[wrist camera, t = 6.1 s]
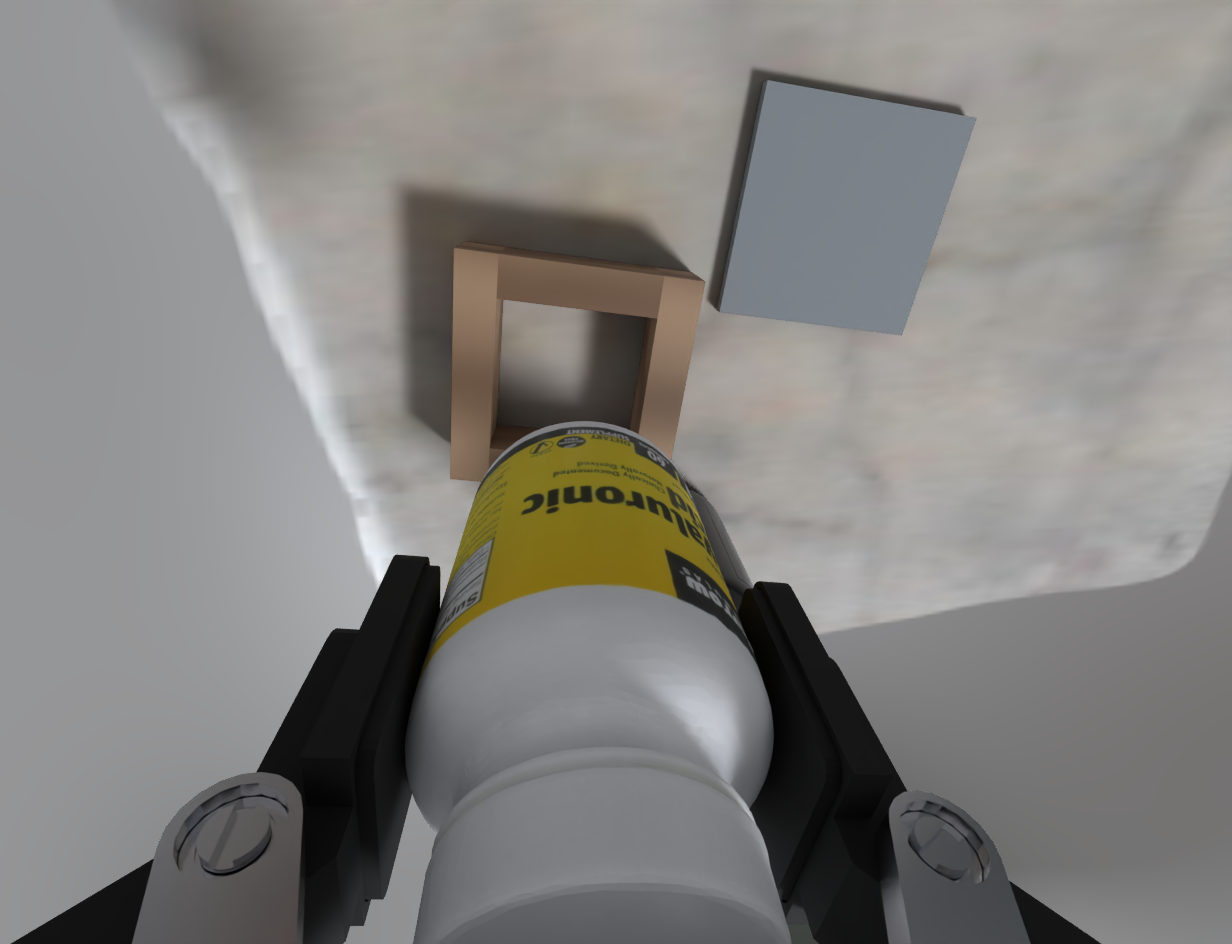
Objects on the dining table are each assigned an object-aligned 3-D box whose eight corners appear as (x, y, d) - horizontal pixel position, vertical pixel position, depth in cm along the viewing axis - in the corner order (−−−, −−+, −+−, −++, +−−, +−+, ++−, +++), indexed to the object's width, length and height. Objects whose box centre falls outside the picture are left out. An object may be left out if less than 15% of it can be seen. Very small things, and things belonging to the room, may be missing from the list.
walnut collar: (465, 241, 25) (453, 248, 23) (691, 272, 26) (705, 281, 24) (461, 452, 29) (450, 478, 27) (655, 470, 31) (663, 497, 28)
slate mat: (762, 82, 23) (767, 79, 23) (967, 119, 25) (976, 117, 24) (716, 309, 27) (719, 312, 27) (895, 332, 28) (902, 335, 28)
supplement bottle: (730, 470, 14) (979, 916, 6) (623, 625, 16) (687, 1132, 8) (531, 372, 13) (454, 770, 4) (439, 554, 15) (259, 1084, 6)
